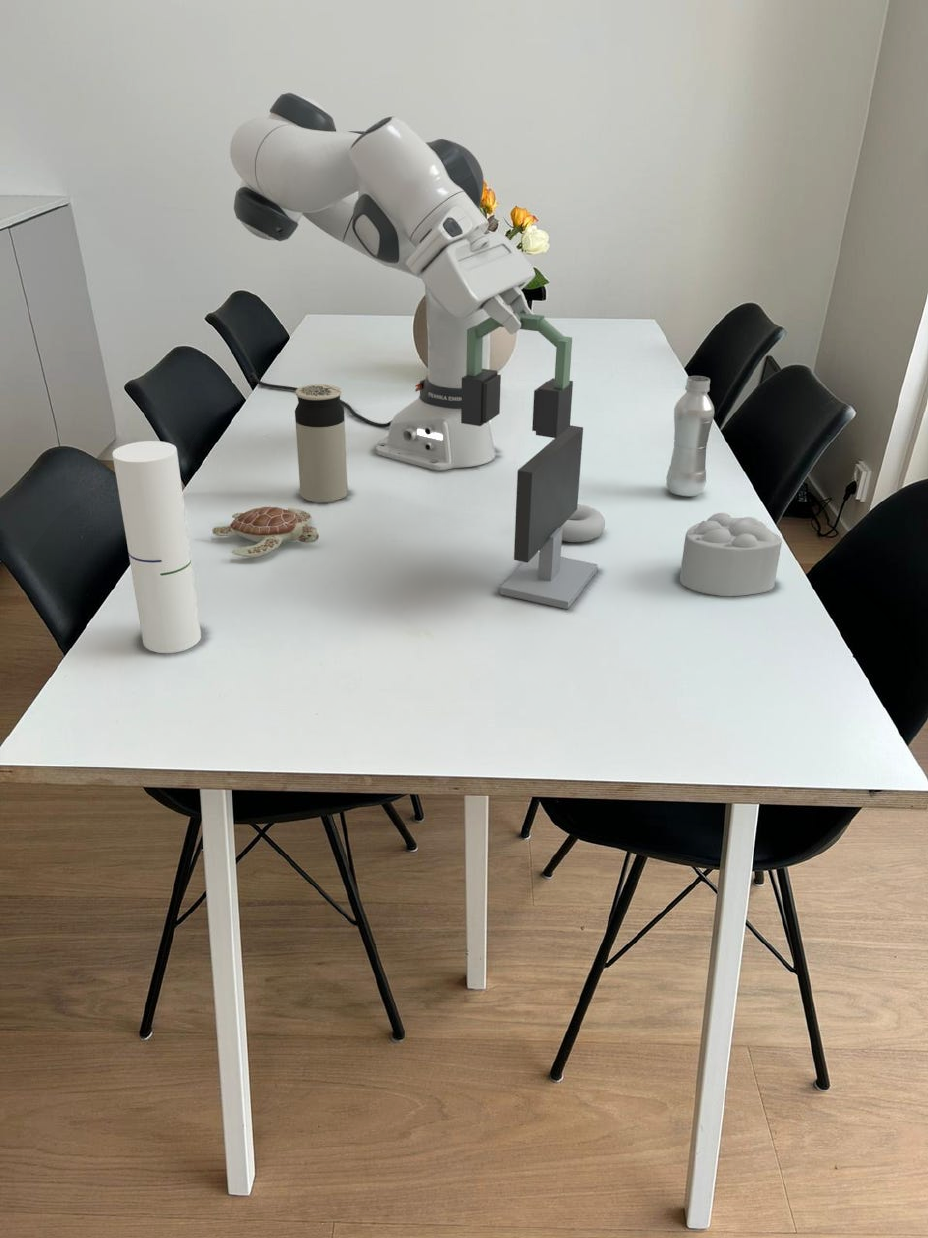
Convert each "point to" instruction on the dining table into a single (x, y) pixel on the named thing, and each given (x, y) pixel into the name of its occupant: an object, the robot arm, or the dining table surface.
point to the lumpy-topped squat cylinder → (730, 556)
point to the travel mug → (321, 443)
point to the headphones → (485, 384)
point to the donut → (583, 525)
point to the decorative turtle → (269, 529)
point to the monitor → (548, 525)
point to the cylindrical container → (158, 544)
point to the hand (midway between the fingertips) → (524, 326)
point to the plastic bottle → (691, 438)
